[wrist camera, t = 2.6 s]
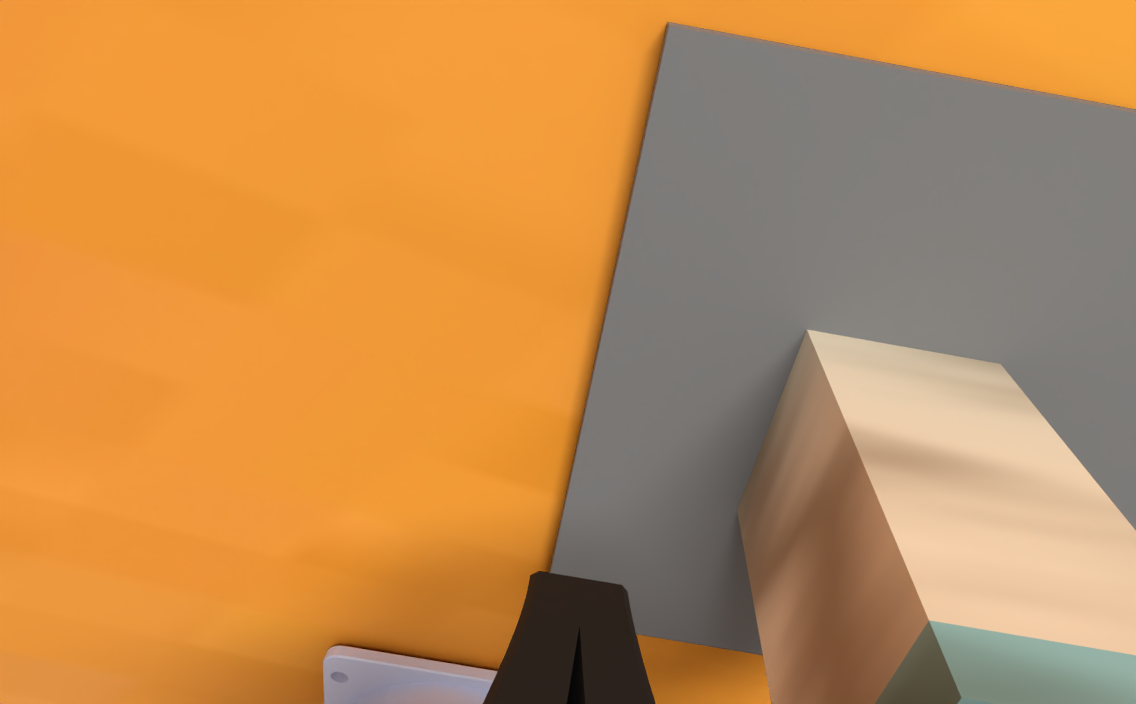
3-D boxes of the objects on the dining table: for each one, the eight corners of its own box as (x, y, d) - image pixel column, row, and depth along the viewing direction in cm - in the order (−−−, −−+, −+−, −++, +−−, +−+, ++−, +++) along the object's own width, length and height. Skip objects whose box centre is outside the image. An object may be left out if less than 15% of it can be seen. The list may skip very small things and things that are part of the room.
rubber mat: (1170, 708, 21) (1181, 725, 20) (542, 603, 20) (540, 618, 20) (1677, 210, 13) (1713, 221, 12) (667, 21, 12) (669, 25, 12)
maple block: (901, 538, 17) (1077, 946, 11) (737, 509, 17) (806, 903, 10) (1000, 363, 15) (1320, 757, 8) (806, 329, 15) (961, 698, 8)
